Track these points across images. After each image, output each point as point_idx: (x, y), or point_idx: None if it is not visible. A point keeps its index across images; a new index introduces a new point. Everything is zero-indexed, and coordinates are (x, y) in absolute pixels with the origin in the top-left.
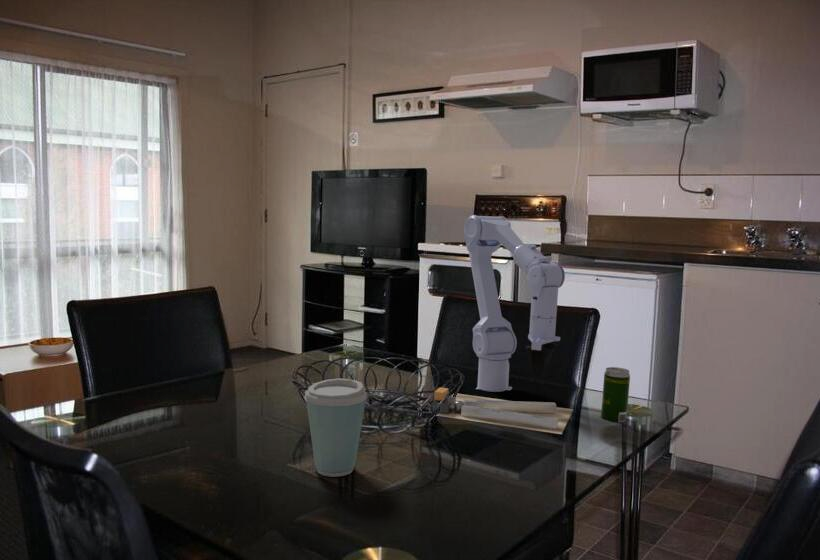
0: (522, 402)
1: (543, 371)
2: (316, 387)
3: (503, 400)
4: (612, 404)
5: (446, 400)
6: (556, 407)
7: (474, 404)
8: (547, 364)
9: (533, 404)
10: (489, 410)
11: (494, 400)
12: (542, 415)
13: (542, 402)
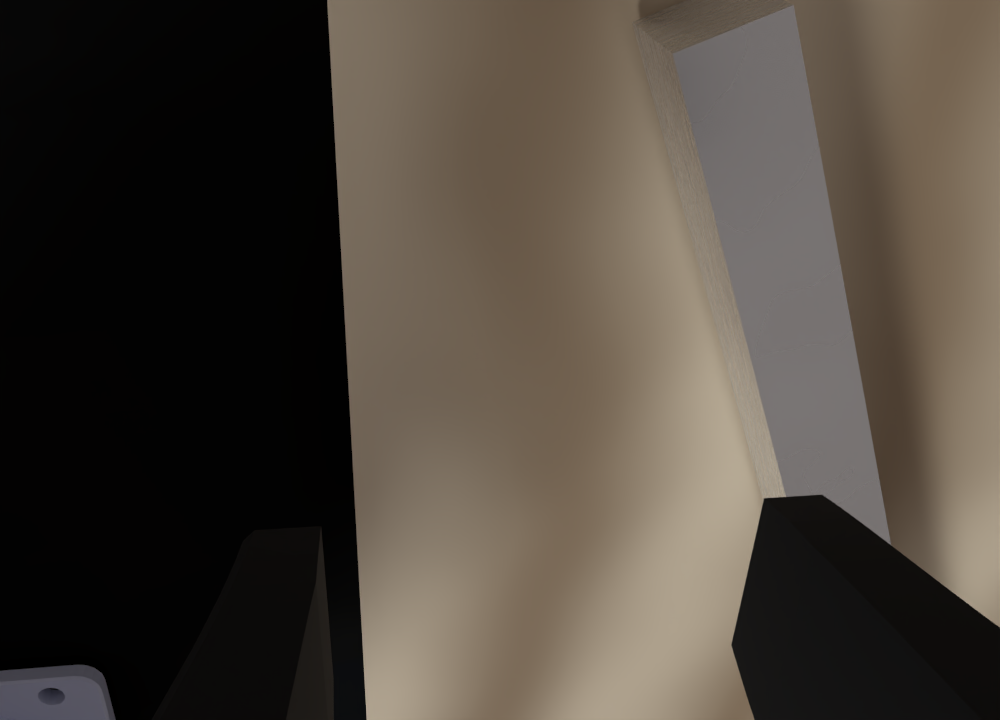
0: (824, 457)
1: (964, 605)
2: None
3: (389, 637)
4: None
5: None
6: (349, 16)
7: None
8: (297, 714)
9: (848, 324)
10: None
11: (437, 696)
12: (839, 145)
13: (739, 232)
